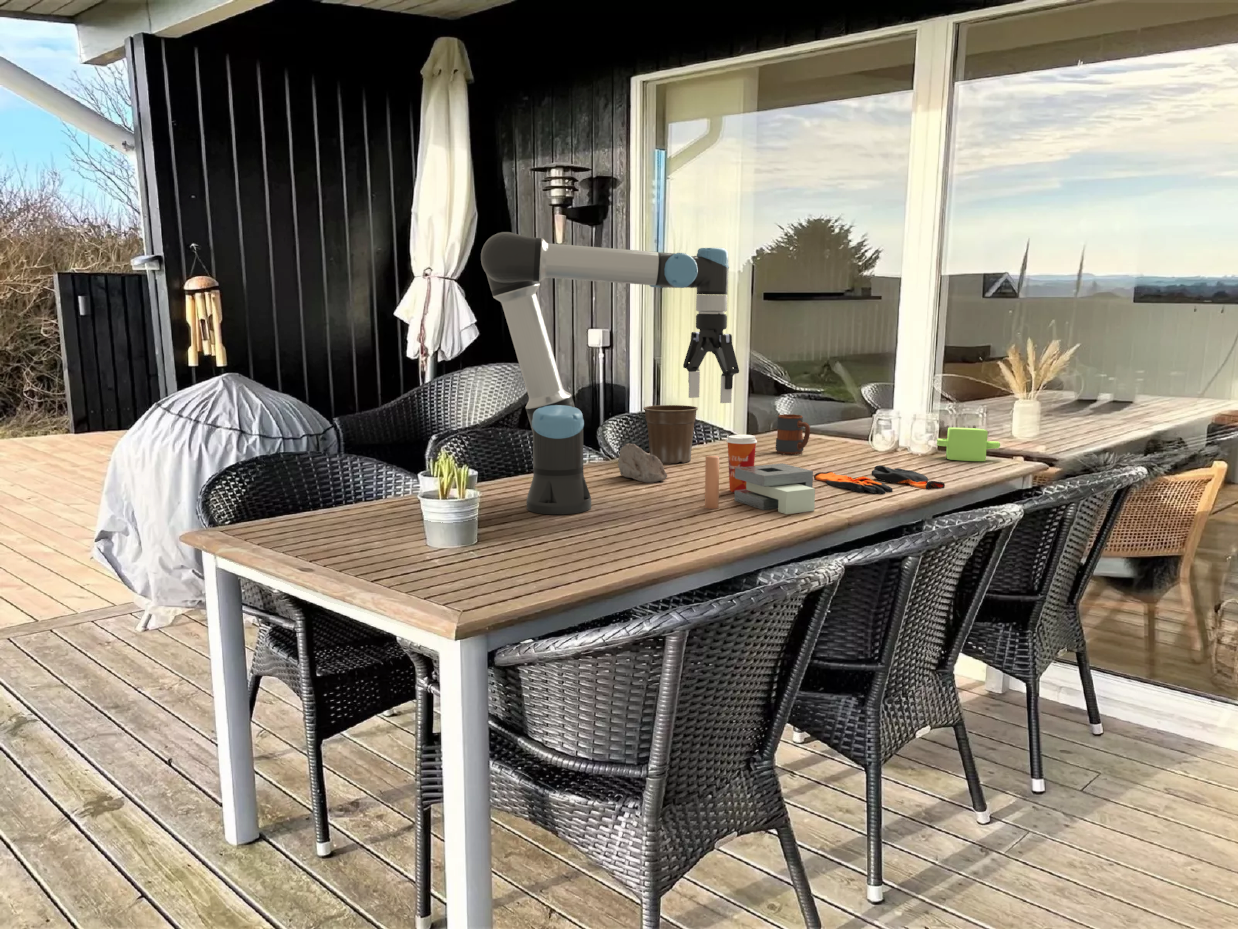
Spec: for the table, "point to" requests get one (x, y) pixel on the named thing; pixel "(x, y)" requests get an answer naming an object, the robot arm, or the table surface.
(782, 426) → the mug
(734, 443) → the paper cup
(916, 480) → the pair of gloves
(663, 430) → the plant pot
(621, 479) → the table surface
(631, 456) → the pumice stone
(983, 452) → the gearbox
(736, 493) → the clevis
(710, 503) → the pin
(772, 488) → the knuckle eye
